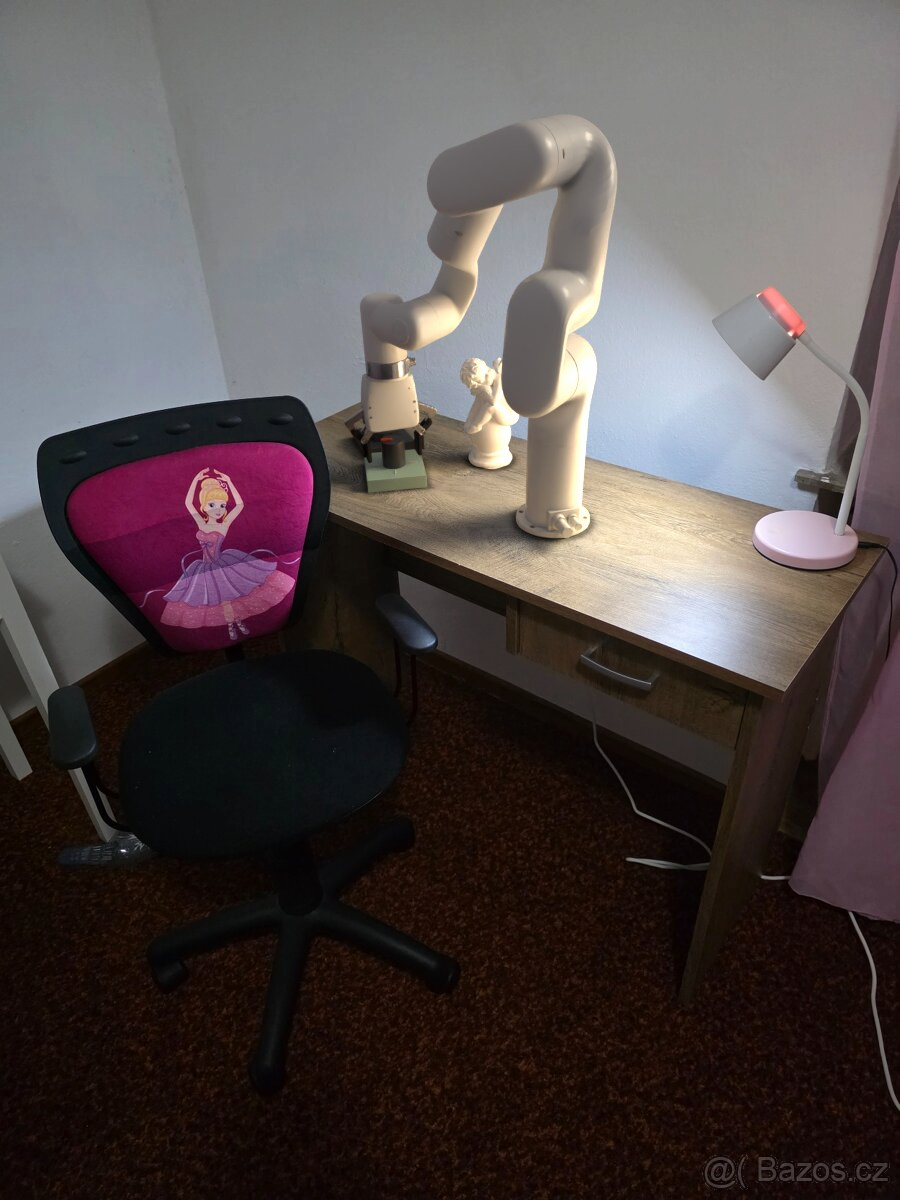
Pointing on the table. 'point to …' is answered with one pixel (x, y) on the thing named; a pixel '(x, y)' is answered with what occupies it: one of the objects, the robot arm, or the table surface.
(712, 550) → the table surface
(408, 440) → the button box
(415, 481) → the console
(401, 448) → the dial
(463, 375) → the cherub figurine
